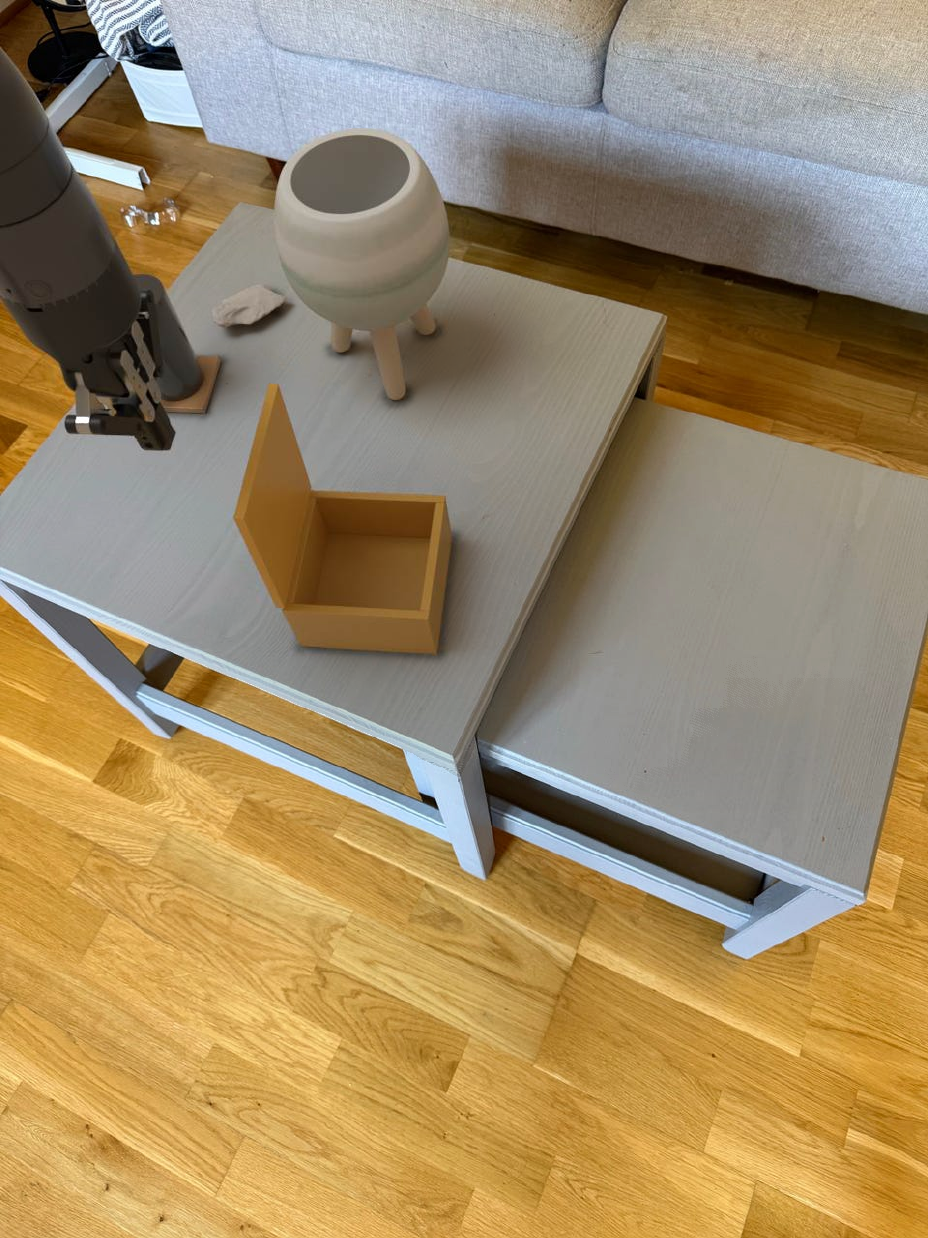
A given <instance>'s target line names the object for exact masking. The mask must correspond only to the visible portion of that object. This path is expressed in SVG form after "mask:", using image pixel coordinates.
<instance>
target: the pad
mask: <svg viewBox="0 0 928 1238" xmlns="http://www.w3.org/2000/svg"><path fill="white" fill-rule="evenodd" d="M196 357H197V359H198V361H199V363H200V365H201V367H202V369H203V372H204V382H203V384H202V386H201V388H200V389H199V390H198V391H197V392H196V393H195V394H194V395H192V396H190V397H189V398H186V399H184V400H180V401H165V400H162V399H161V400H160V402H161V404H162V406H163V408H164V410H165V411H166V413H178V414H179V413H184V414H206V413H207V412H206V411H207V408H208V406H209V402H210V399H211V395H212V392H213V389H214V385H215V382H216V379H217V376H218V372H219V368H220V366H221V362H222V360H221V358H220V356H219V355H196Z"/></svg>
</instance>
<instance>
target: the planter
mask: <svg viewBox="0 0 928 1238" xmlns="http://www.w3.org/2000/svg"><path fill="white" fill-rule="evenodd" d="M277 182H278V183H277V186H276V191H275V197H274V208H273V223H274V227H273V228H274V237H275V243H276V249H277V253H278V257H279V262H280V265H281V267H282V270H283V272H284V275H285V277H286V279H287V281H288V283H289V285H290V288H292V290H293V292H294V293H295V294H296V295H297V297H298V298H299V299H300V301H301V302H302V303H303V304H304V305H305V306H307V308H309V309H310V310H311V311H312V312H314V313H315V314H316V315H318V316H319V317H321V318H323V319H324V320H326V321H328V322H330V323H331V329H330V331H331V332H330V343H331V348H332V350H333V351H334V352H336V353H344V352H347V351H348V350H349V349H350V347H351V343H352V336H353V331H355V330H356V331H361V332H369V335H370V337H371V342H372V345H373V349H374V353H375V356H376V357H375V358H376V362H377V365H378V368H379V372H380V376H381V380H382V384H383V387H384V391H385V394H386V396H387V398H389V399H391V400H394V401H397V400H400V399H402V398H404V396H405V394H406V391H407V389H406V383H405V376H404V370H403V365H402V359H401V352H400V346H399V341H398V335H397V329H396V327H397V326H398V325H400V324H402V323H404V322H406V321H407V320H408V319H409V320H410V321H411V322H412V324H413V325H414V327H415V328H416V330H417V332H418V333H420V334H421V335H424V336H425V335H426V336H428V335H431V334H432V333H434V332H435V330H436V326H437V325H436V321H435V319H434V316H433V314H432V312H431V310H430V308H429V306H428V304H427V303H428V302H430V300H431V298H433V296H434V295H435V293H436V292H437V290H438V289H439V287H440V285H441V283H442V281H443V279H444V276H445V274H446V270H447V267H448V262H449V259H450V249H451V248H450V247H451V239H450V237H451V235H450V226H449V219H448V213H447V211H446V206H445V203H444V200H443V199H444V198H443V196H442V194H441V191H440V188H439V186H438V184H437V182H436V179H435V178H434V175H433V173H432V172H431V170H430V168H429V167H428V165H427V163H426V162H425V160H424V159H423V157H422V156H421V155H420V153H419V152H418V151H417V150H416V149H415V148H414V146H413V145H411V144H410V143H409V142H408V141H406V140H405V139H403V138H402V137H400V136H399V135H397V134H394V133H392V132H389V131H385V130H381V129H374V128H348V129H342V130H336V131H334V132H333V131H332V132H330V133H326V134H324V135H321V136H318V137H317V138H315V139H313V140H311V141H309V142H307V143H306V144H305V145H304V144H303V146H302V147H301V146H300V147H299V149H298V150H296V151H295V152H294V153H293V154H292V155H291V157H290V158H289V159H288V160H287V161H286V163H285V165H284V166H283V167H282V170H281V173H280V175H279V178H278V181H277Z"/></svg>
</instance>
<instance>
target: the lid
mask: <svg viewBox="0 0 928 1238" xmlns="http://www.w3.org/2000/svg"><path fill="white" fill-rule="evenodd" d="M259 415H260V416H259V420H258V423H257V427H256V430H255V435H254V438H253V441H252V446H251V449H250V452H249V457H248V461H247V465H246V468H245V472H244V476H243V480H242V484H241V487H240V491H239V494H238V498H237V501H236V506H235V508H234V513H233V517H232V519H233V520H234V523H235V526H236V527H237V529H238V532H239V533H240V535H241V538H242V540H243V542H244V544H245V546H246V548H247V550H248V552H249V555H250V556H251V558H252V560H253V563H254V565H255V567H256V570H257V572H258V573H259V575H260V577H261V580H262V582H263V584H264V586H265V588H266V590H267V592H268V594H269V597H270V599H271V600H272V603H273V605H274V607H275V608H276V609H283V608H285V606H286V601H287V596H288V592H289V587H290V583H291V578H292V574H293V569H294V565H295V560H296V556H297V551H298V547H299V542H300V538H301V533H302V529H303V524H304V520H305V515H306V511H307V506H308V502H309V497H310V493H311V490H312V489H313V486H312V484H311V481H310V478H309V475H308V474H309V473H308V471H307V468H306V465H305V462H304V459H303V456H302V452H301V449H300V447H299V443H298V439H297V437H296V434H295V431H294V428H293V424H292V421H291V419H290V415H289V412H288V409H287V406H286V402H285V400H284V397H283V393H282V390H281V387H280V384H279V383H268V385H267V389H266V393H265V397H264V400H263V403H262V408H261V412H260V414H259Z"/></svg>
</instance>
